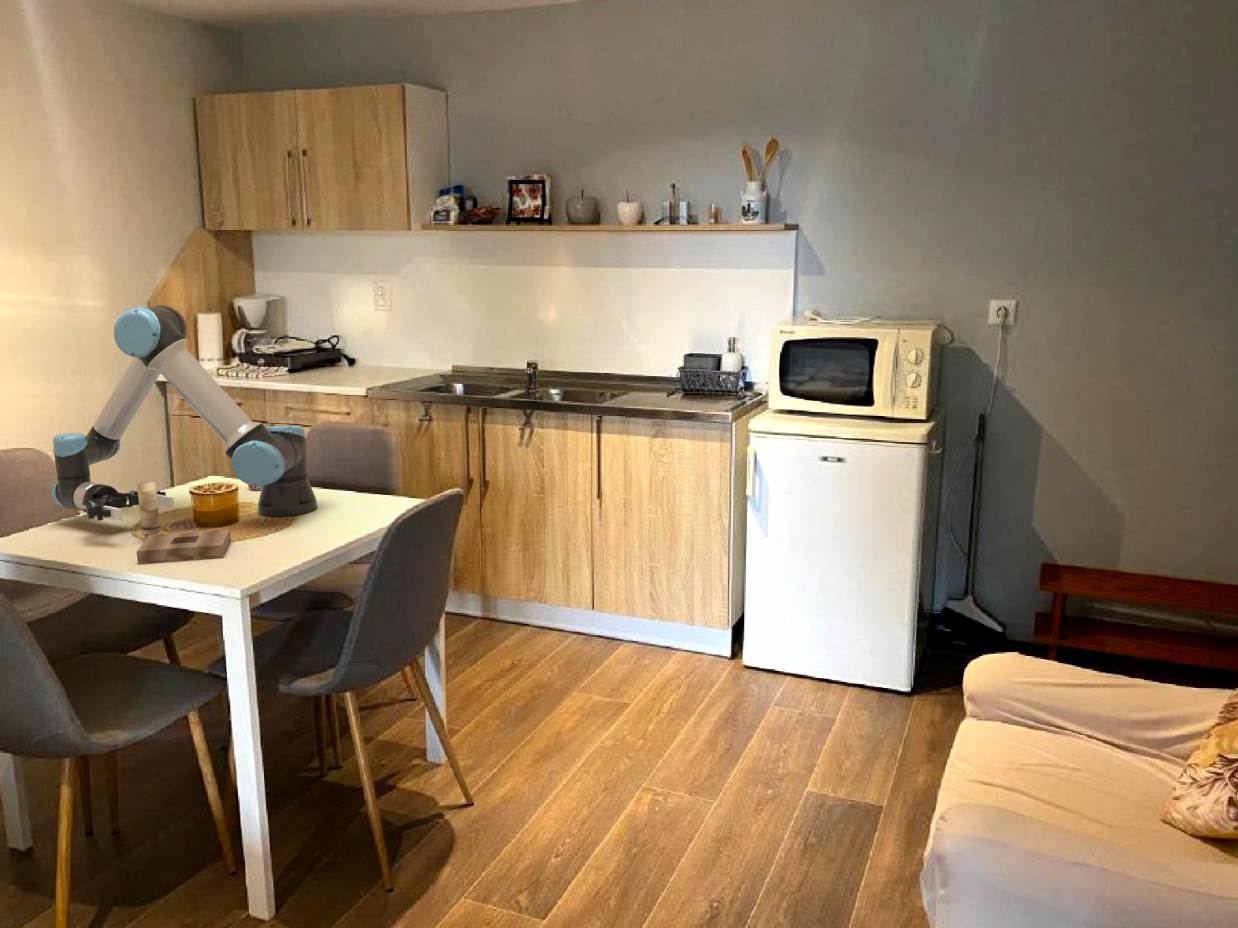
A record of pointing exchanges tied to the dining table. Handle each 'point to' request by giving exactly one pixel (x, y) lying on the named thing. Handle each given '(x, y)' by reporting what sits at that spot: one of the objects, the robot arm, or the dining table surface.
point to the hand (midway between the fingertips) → (147, 508)
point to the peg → (148, 508)
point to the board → (184, 546)
